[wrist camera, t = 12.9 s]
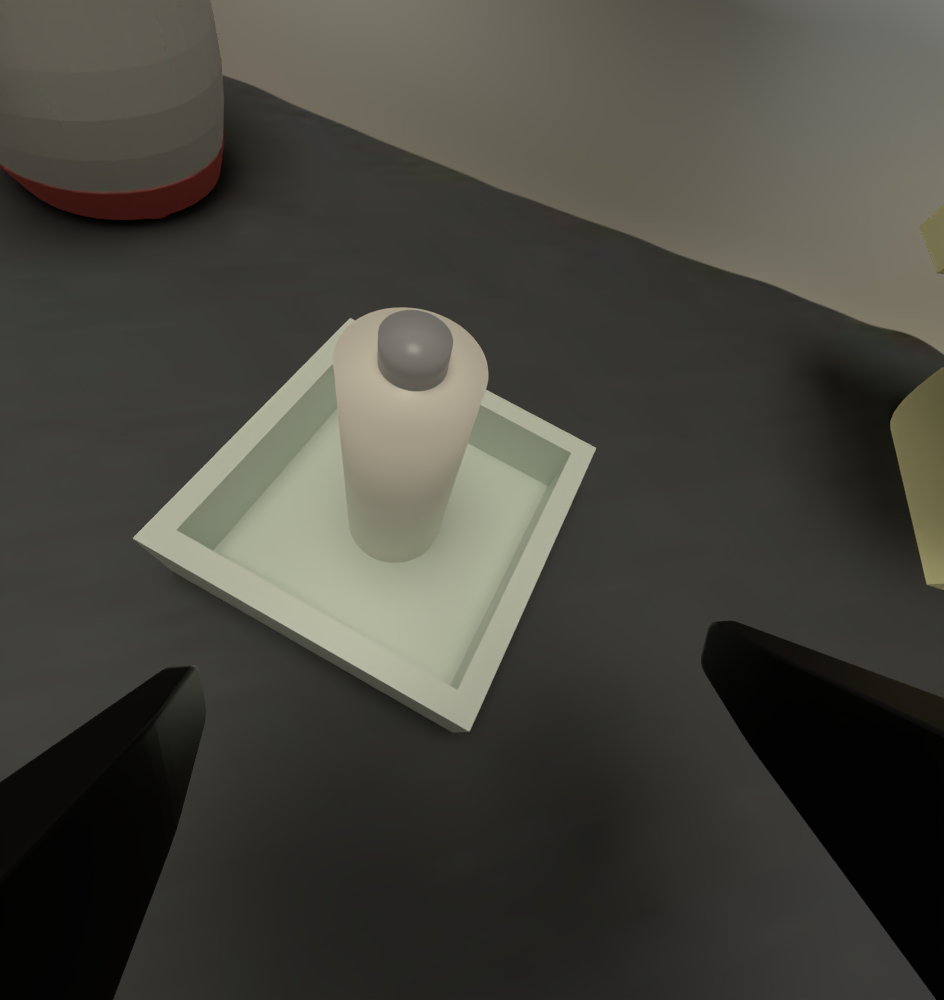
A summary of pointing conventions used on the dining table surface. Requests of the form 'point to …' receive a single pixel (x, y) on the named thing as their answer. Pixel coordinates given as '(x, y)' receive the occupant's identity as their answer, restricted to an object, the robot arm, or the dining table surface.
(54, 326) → the dining table surface
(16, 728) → the dining table surface
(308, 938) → the dining table surface
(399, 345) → the grey-capped cream cylinder
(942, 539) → the slatted curved stool
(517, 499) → the walled box
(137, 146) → the citrus juicer
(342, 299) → the dining table surface
